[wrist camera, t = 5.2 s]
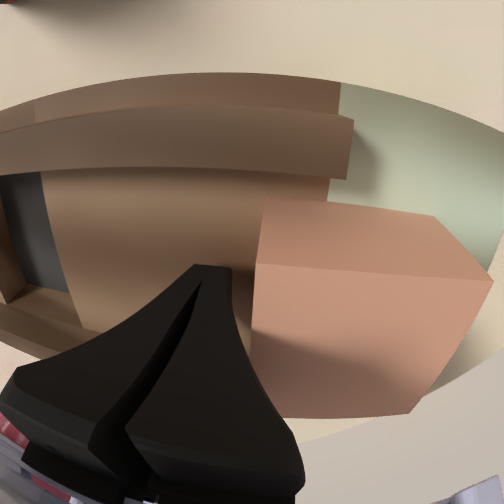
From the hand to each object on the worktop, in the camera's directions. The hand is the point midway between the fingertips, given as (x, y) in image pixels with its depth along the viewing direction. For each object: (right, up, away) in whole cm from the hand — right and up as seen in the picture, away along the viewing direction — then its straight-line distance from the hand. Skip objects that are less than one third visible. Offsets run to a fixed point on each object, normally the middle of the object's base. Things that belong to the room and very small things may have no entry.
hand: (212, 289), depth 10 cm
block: (+5, 0, +1) cm, 5 cm away
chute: (-2, +2, +4) cm, 5 cm away
